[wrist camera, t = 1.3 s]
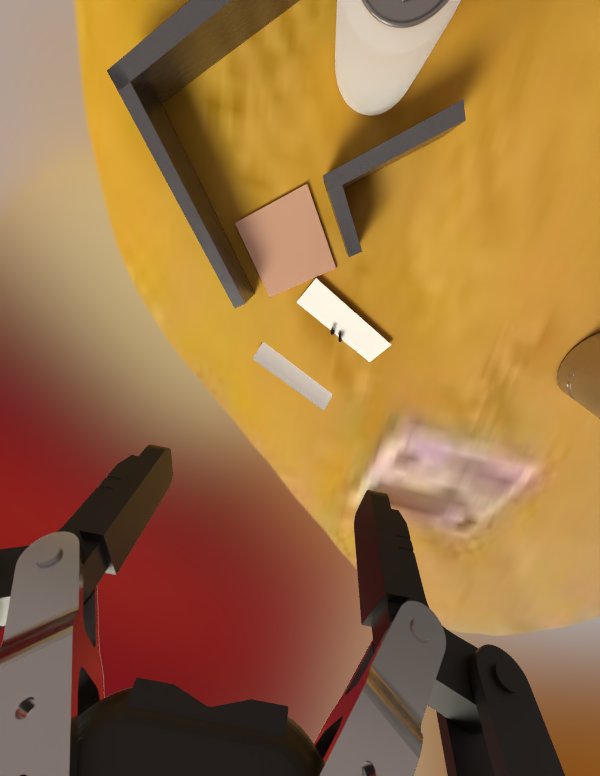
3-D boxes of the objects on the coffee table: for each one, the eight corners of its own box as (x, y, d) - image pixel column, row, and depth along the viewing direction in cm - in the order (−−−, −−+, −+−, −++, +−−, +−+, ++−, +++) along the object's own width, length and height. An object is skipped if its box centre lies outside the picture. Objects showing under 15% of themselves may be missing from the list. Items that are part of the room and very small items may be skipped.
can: (414, -21, 20) (505, -276, 10) (421, 99, 23) (496, 1, 13) (326, 23, 21) (323, -159, 11) (343, 130, 24) (354, 65, 14)
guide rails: (407, -113, 18) (429, -202, 14) (453, 203, 26) (474, 201, 23) (141, 94, 24) (106, 70, 21) (245, 297, 33) (234, 308, 29)
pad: (307, 184, 27) (307, 183, 26) (336, 267, 30) (336, 268, 30) (235, 223, 29) (234, 223, 29) (270, 296, 32) (269, 297, 32)
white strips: (389, 340, 35) (392, 346, 33) (323, 403, 40) (323, 410, 38) (314, 274, 31) (314, 277, 30) (254, 352, 37) (251, 357, 35)
